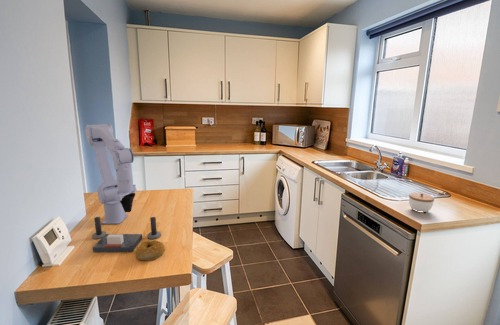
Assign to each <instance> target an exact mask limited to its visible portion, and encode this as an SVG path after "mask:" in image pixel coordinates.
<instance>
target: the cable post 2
mask: <svg viewBox="0 0 500 325" xmlns="http://www.w3.org/2000/svg"><path fill="white" fill-rule="evenodd" d="M149 221H150V230H151V231H150V232H149V233H147V238H148V239H149V240H157V239H159V238H160V237H161V236H162V234H161V231H159V230H157V218H156V216H152V217H151V216H150V219H149Z"/></svg>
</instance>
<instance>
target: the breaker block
mask: <svg viewBox="0 0 500 325" xmlns="http://www.w3.org/2000/svg"><path fill="white" fill-rule="evenodd" d="M109 234H110V233H106V235H105V236H104V237H103V238H102V239H99V241H97V243H95V244H94V245H93V246H92V253H133V252H134V250H135V249H137V247H138V246H139V244H141V242H142V240H143V234H142V233H122V234H123V240H124V242H123V243H122V244H121V245H107V236H108V235H109Z"/></svg>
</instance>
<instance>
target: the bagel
mask: <svg viewBox="0 0 500 325" xmlns="http://www.w3.org/2000/svg"><path fill="white" fill-rule="evenodd" d="M139 244H140V245H139ZM139 244H138V246H137V247H136V248H135V249H136V250H135V257H136V258H137V260H140V261H155V260H157V259H159V258H160V257H161V256H163V254H164V252H165V245H164V243H163V242H161V241H159V240H157V239H152V240H147V241H143V242H142V241H141V242H140V243H139Z"/></svg>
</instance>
